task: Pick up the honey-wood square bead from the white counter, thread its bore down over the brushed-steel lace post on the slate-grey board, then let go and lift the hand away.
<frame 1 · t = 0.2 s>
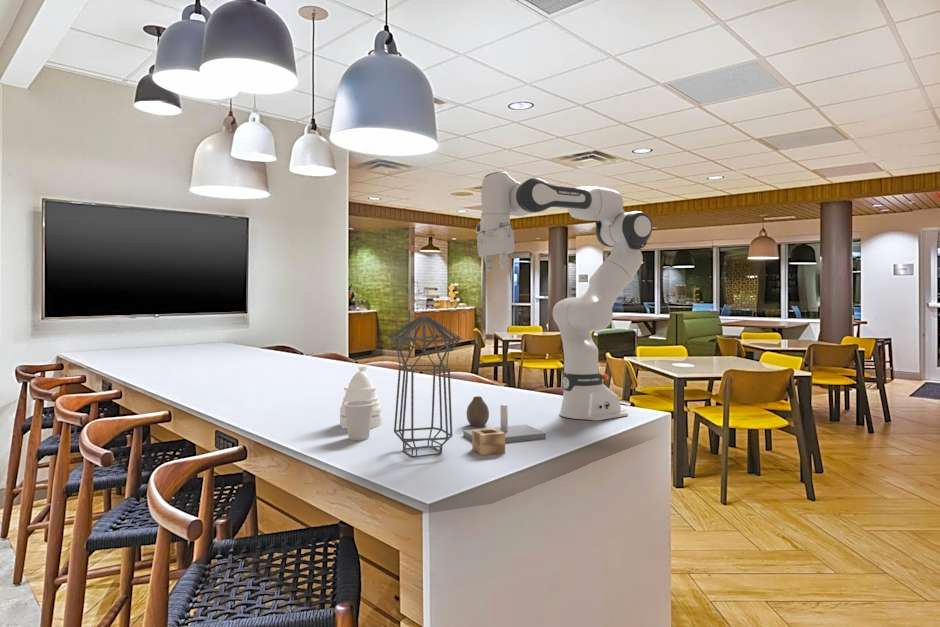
hand: (495, 270, 183), 48 cm above the table, fingers open, 8 cm apart
dixie cup: (359, 438, 167), on the table
geometric lantern: (425, 452, 153), on the table
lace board: (504, 437, 167), on the table
bead: (488, 450, 152), on the table
honey pot: (361, 425, 185), on the table
vase: (477, 425, 183), on the table
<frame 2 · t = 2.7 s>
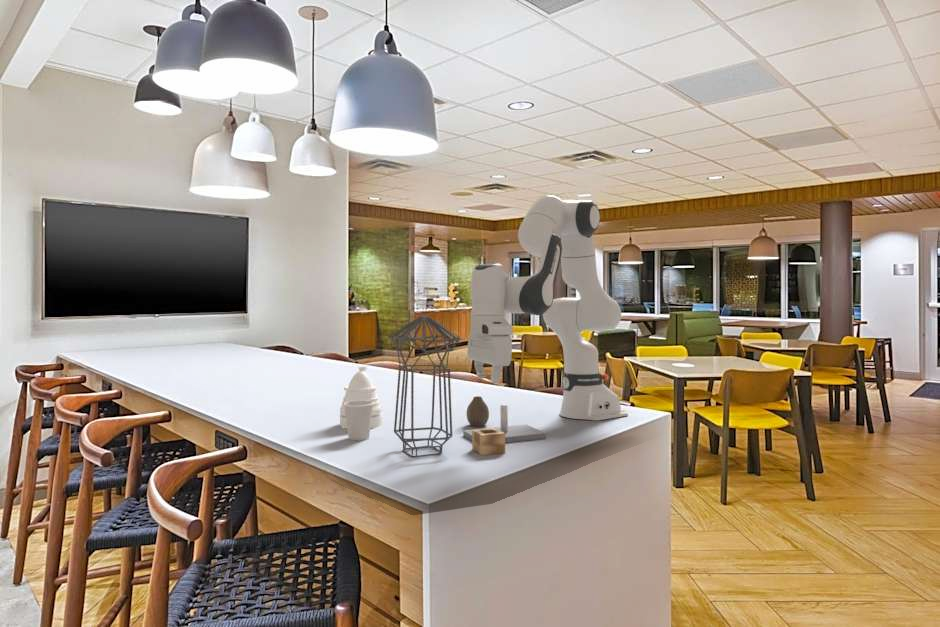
hand: (487, 380, 152), 18 cm above the table, fingers open, 8 cm apart
nothing on the table moved.
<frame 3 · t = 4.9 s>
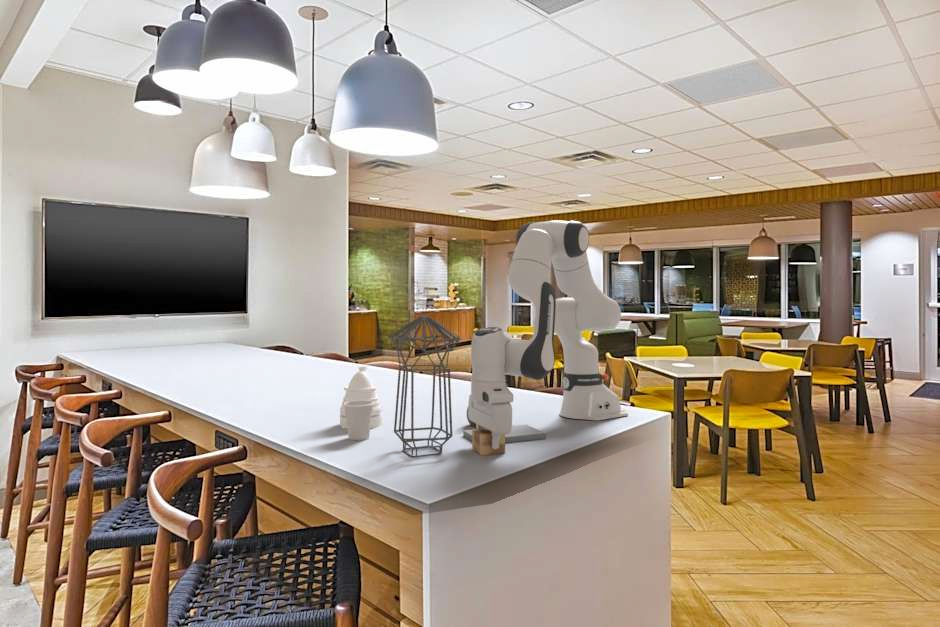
hand: (488, 444, 152), 2 cm above the table, fingers closed on bead, 6 cm apart
bead: (488, 450, 153), on the table, touching gripper
everything else where it was.
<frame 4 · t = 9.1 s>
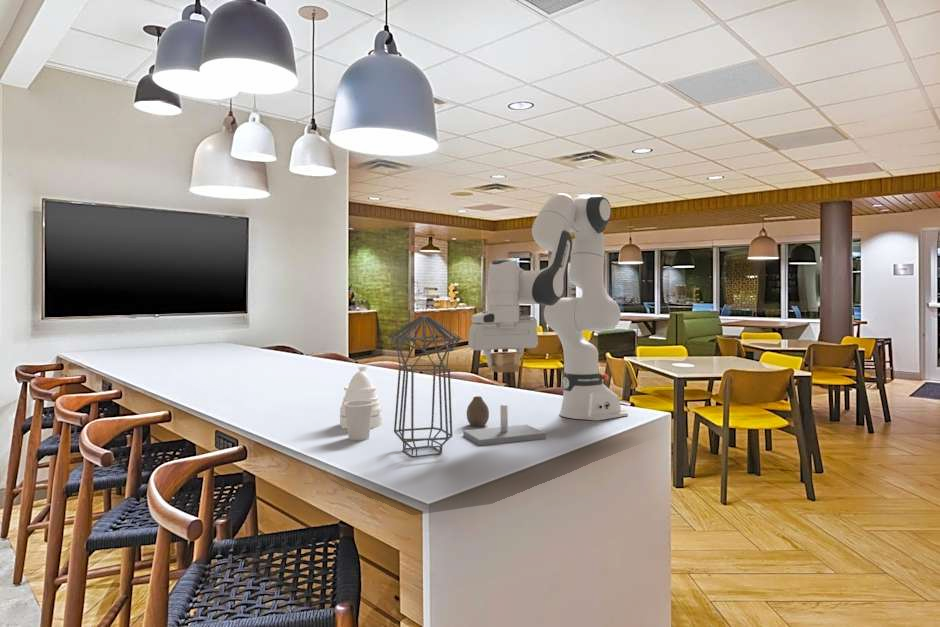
hand: (503, 365, 167), 20 cm above the table, fingers closed on bead, 6 cm apart
bead: (503, 370, 167), point 19 cm above the table, touching gripper
everything else where it was.
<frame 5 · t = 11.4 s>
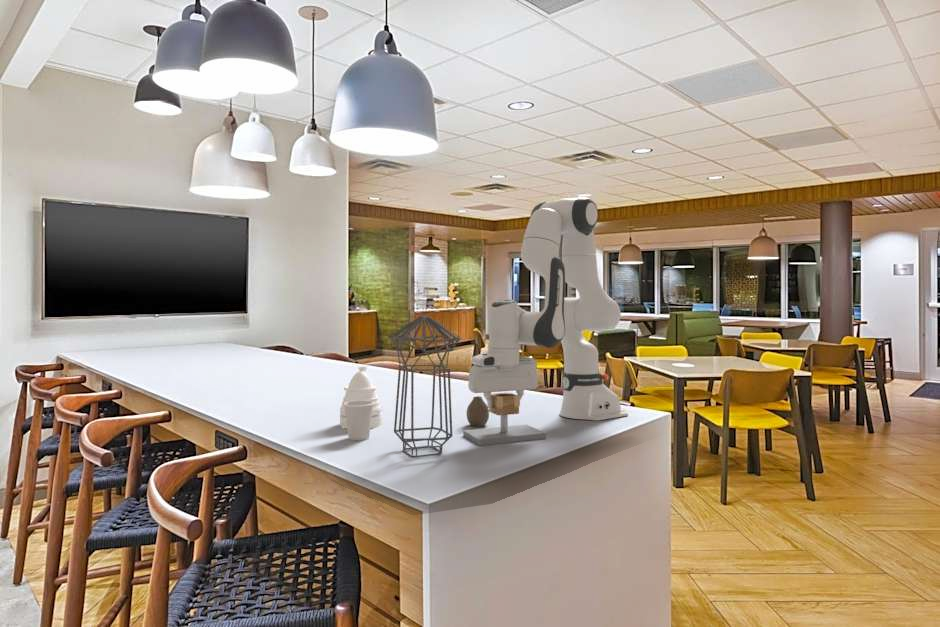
hand: (503, 406, 167), 9 cm above the table, fingers closed on bead, 6 cm apart
bead: (503, 412, 167), point 7 cm above the table, touching gripper
everything else where it was.
when the fingers open (6 cm above the table, at t = 13.4 s): bead drops 3 cm, resting on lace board.
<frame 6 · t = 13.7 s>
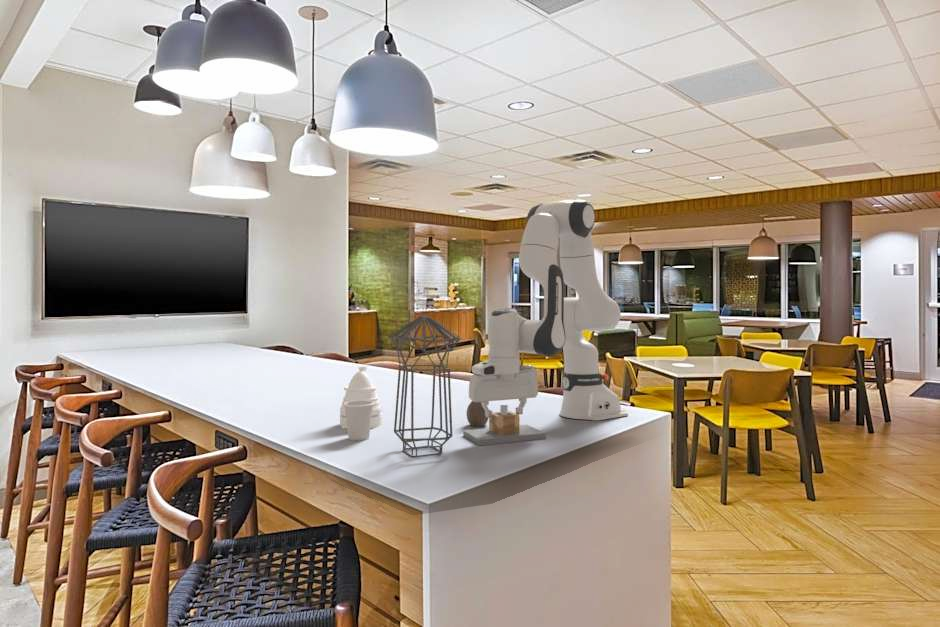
hand: (504, 415, 167), 6 cm above the table, fingers open, 8 cm apart
bead: (504, 431, 167), point 1 cm above the table, touching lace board
everything else where it was.
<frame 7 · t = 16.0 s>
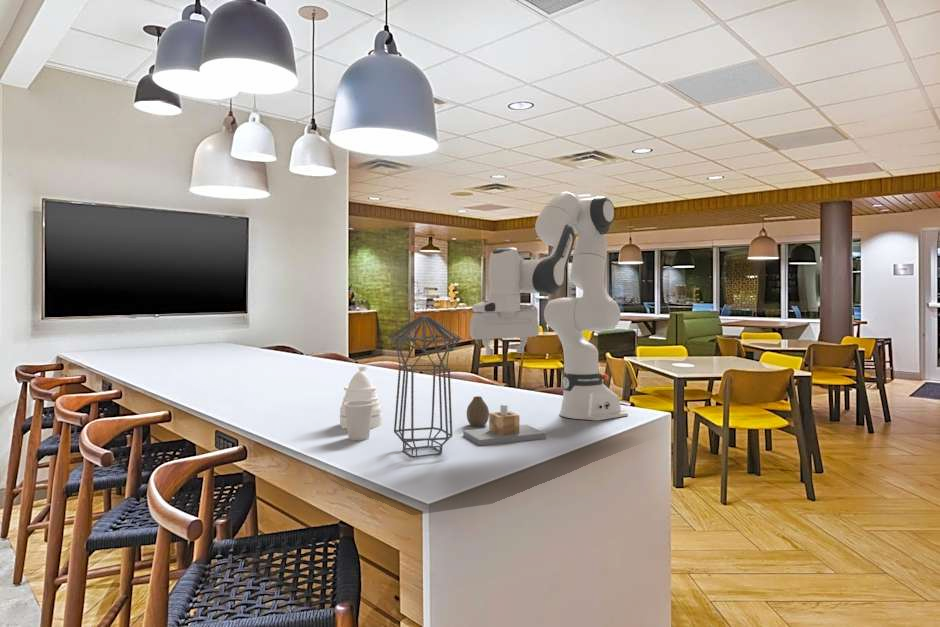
hand: (505, 354, 167), 23 cm above the table, fingers open, 8 cm apart
nothing on the table moved.
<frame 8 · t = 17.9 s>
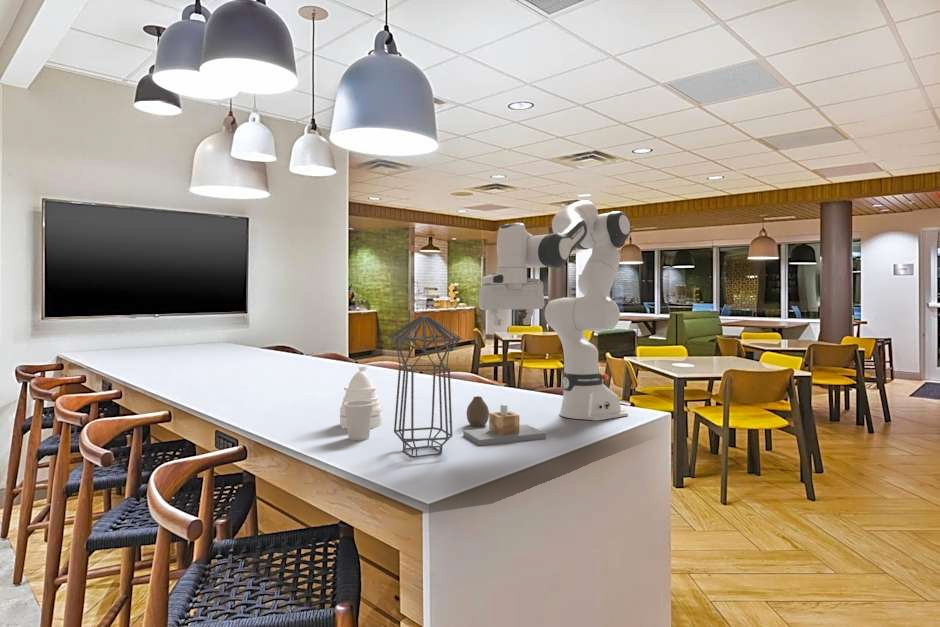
hand: (512, 325, 175), 31 cm above the table, fingers open, 8 cm apart
nothing on the table moved.
at the end: bead 0.1 cm off-centre on the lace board, point 1.5 cm above the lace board's base; bead tilted 0°; the gripper is holding nothing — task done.
